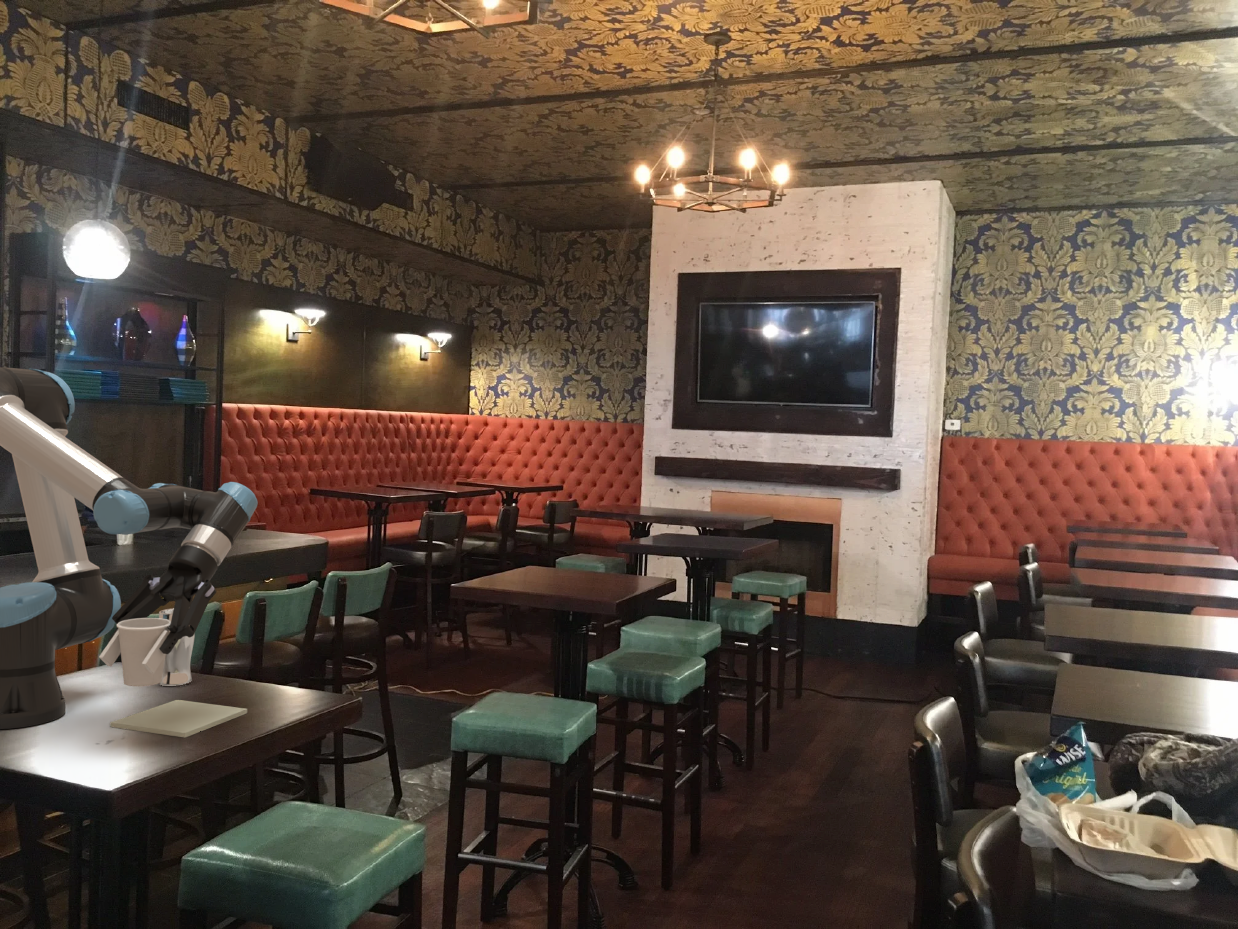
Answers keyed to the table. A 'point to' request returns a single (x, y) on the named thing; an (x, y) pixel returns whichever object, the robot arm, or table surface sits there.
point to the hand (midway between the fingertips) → (126, 665)
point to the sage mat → (179, 718)
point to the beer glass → (177, 658)
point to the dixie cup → (140, 649)
